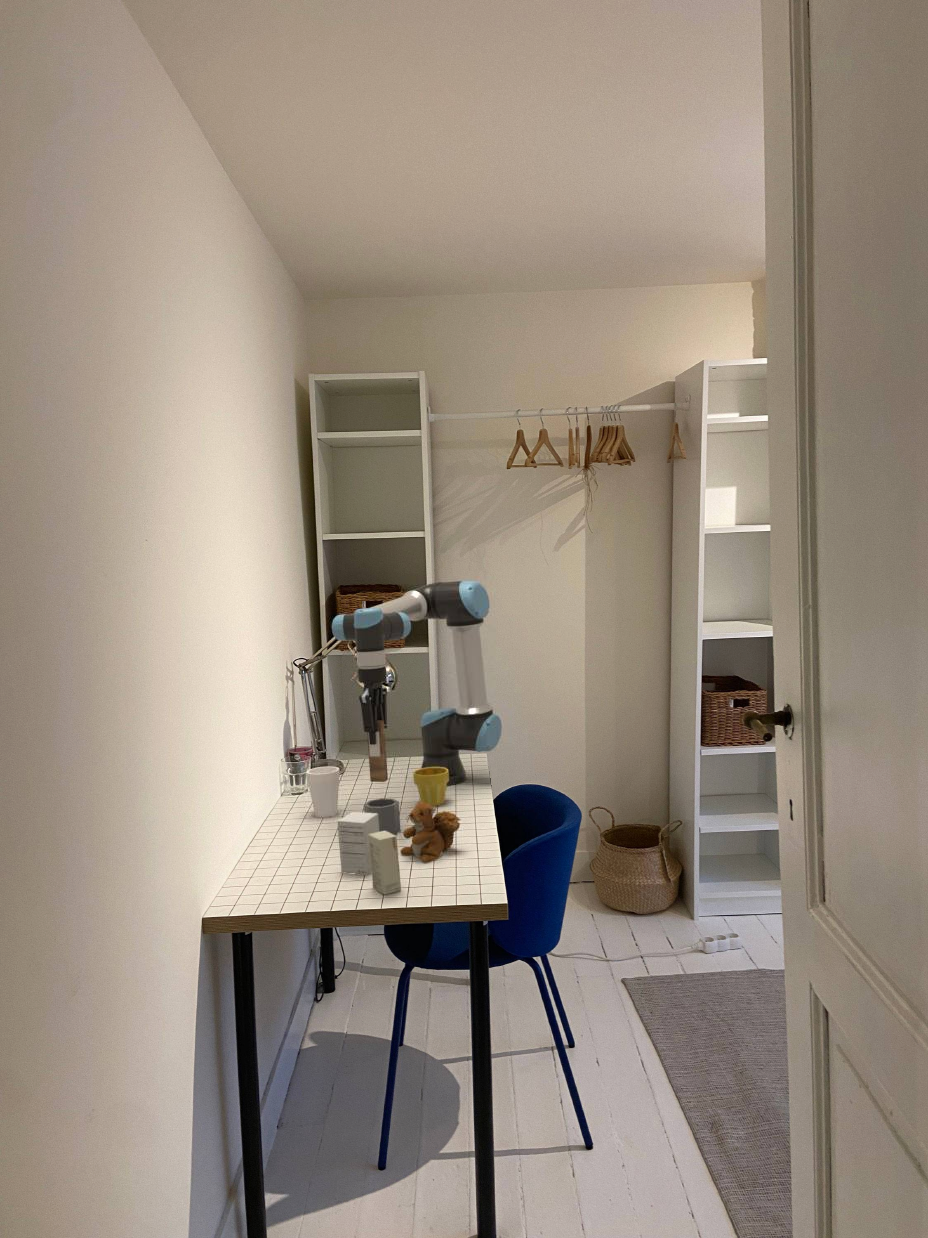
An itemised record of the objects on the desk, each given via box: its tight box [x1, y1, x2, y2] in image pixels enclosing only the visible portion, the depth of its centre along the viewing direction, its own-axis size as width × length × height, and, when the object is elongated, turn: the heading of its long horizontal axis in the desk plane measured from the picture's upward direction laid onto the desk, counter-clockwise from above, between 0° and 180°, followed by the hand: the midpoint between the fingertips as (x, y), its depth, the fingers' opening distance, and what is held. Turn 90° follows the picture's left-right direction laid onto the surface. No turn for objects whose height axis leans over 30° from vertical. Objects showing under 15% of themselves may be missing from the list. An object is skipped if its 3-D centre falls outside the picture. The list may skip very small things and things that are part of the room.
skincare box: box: [369, 831, 402, 895], centre depth 194 cm, size 6×4×12 cm
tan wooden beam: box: [366, 720, 389, 783], centre depth 234 cm, size 2×4×16 cm, turn 72°
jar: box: [363, 797, 402, 835], centre depth 235 cm, size 9×9×8 cm
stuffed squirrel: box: [399, 800, 462, 864], centre depth 215 cm, size 10×14×13 cm
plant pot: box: [412, 767, 449, 807], centre depth 260 cm, size 10×10×10 cm
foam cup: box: [306, 766, 341, 819], centre depth 256 cm, size 10×9×13 cm
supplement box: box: [336, 811, 379, 876], centre depth 207 cm, size 7×7×13 cm
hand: (377, 754), depth 234 cm, fingers closed on tan wooden beam, 2 cm apart
